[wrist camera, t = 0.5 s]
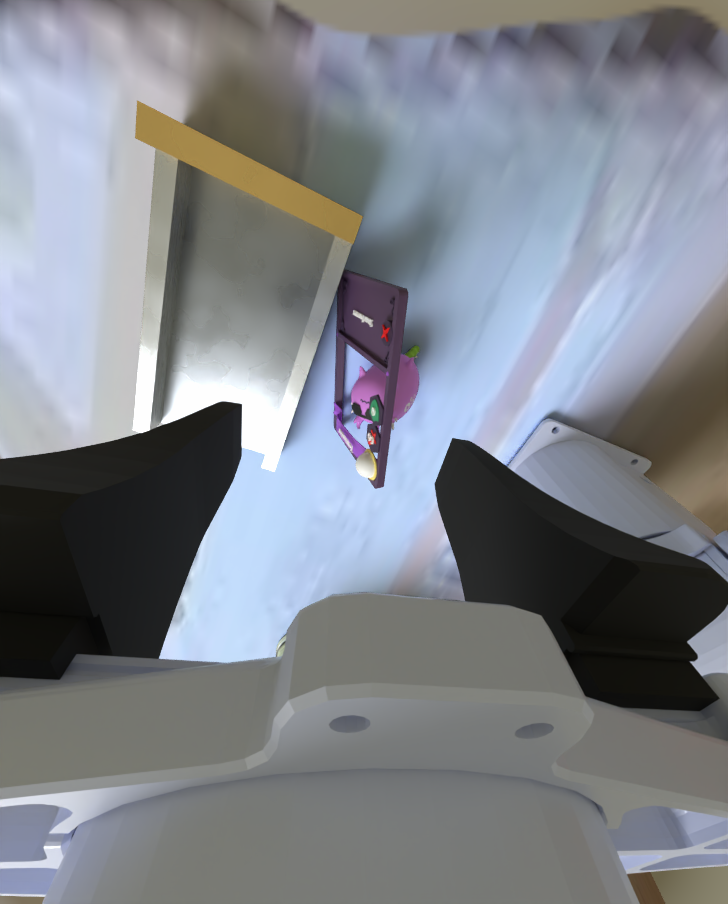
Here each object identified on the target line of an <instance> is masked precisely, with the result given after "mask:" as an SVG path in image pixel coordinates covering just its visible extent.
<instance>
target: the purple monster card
mask: <svg viewBox="0 0 728 904" xmlns="http://www.w3.org/2000/svg"><path fill="white" fill-rule="evenodd" d="M407 302H408V291H407V289H405V288H402V287H399V286H396V285H393V284H389V283H386V282H383V281H380V280H377V279H373V278H370V277H367V276H364V275H361V274H357V273H354V272H351V271H348V270H343V273H342V276H341V279H340V282H339V285H338V292H337V329H336V366H335V402H334V412H333V413H334V428H335V430H336V432H337V433H338V434H339V436H340V437H341V439H342V440H343V442H344V443H345V445H346V446H347V448H348V449H349V451H350V452H351V454H352V455H353V457H354V458H355V460H356V469H357V471H358V473H359V474H360V475H361V476H363V477H366V478H368V479H369V480H370V482H371V483H372V485H373V486H374V488H375V489H376V488H381V487H383V486H384V480H385V473H386V465H387V457H388V449H389V442H390V434H391V428H392V430H393V429H394V422H395V421H396V422H397V420H398V419H400V418H401V417H403V416H404V415H405V414H406V413H407V412H408V410H409V409H410V407H411V406H412V404H413V402H414V400H415V398H416V395H417V392H418V387H419V373H418V369H417V367H416V365H415V363H414V357H415V359H416V358H418V357H417V356H416V355H417V353H419V352H420V351H419V350H420V348H419V347H418V346H414V347H413V348H411V349H410V350H409V351H408V352H407V353H406V354H405V355H403V354H401V348H402V341H403V333H404V325H405V317H406V310H407ZM345 342H346V343H347V344H348V345H350V346H351V347H352V348H353V349H355V350H356V351H357V352H358V353H360V354H361V355H362V356H363V357H365V358H366V359H367V360H368V361H370V362H371V363H372V364H374V365H373V366H372V367H371V368H370V369H369V370H368V371H367V372H365V370H364V369H363V367H360V375H359V378H358V380H357V381H356V383H355V384H354V386H353V389H352V392H351V400H352V402H351V405H352V404H353V405H352V409H353V410H352V412H351V413H353V412H354V414H356V415H357V417H356V418H355V420H354V423H356V422H357V428H358V429H360V425H361V423H362V422H363V421H364V420H365V421H367V422H369V423H372V424H368V427H367V441H368V444H369V447H370V449H366V448H364V447H363V446H362V445H361V444H360V443H359V442H357V441H356V440H355V439H354V438H353V436H352V435H351V434H350V433H349V432H348V430H347V429H346V428H345V427H344V425H343V424H342V398H343V374H344V349H345ZM380 425H381V431H380V432H379V426H380ZM373 452H376V453H378V458H377V459H376V458H375V456H374V454H373Z"/></svg>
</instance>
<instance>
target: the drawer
mask: <svg viewBox="0 0 728 904" xmlns="http://www.w3.org/2000/svg"><path fill="white" fill-rule="evenodd" d="M135 138H136V139H138V140H140V141H142V142H144V143H146V144H148V145H150V146H152V147H154V148H156V151H155V163H154V176H153V189H152V201H151V214H150V226H149V239H148V252H147V264H146V277H145V290H144V302H143V315H142V327H141V340H140V353H139V365H138V378H137V391H136V403H135V416H134V428H133V430H135V431H138V432H145V431H148V430H151V429H154V428H156V427H157V426H158V425H159V424H160V423H165V424H167V423H170V422H172V421H175V420H178V419H180V418H182V417H185V416H187V415H189V414H192V413H194V412H196V411H199V410H201V409H203V408H205V407H208V406H210V405H212V404H215V403H217V402H220V401H228V402H234V403H240V404H242V447H244V448H247V449H250V450H253V451H257V452H260V453H263V454H266V455H265V458H264V461H263V464H262V467H261V468H264V469H268V470H271V471H275V468H276V465H277V462H278V459H279V456H280V454H281V451H282V448H283V445H284V442H285V439H286V436H287V433H288V430H289V427H290V424H291V422H292V419H293V416H294V413H295V410H296V407H297V404H298V401H299V398H300V395H301V392H302V390H303V387H304V384H305V381H306V378H307V375H308V372H309V369H310V366H311V363H312V360H313V357H314V355H315V352H316V349H317V346H318V343H319V340H320V337H321V334H322V331H323V328H324V325H325V323H326V320H327V317H328V314H329V311H330V308H331V305H332V302H333V299H334V296H335V293H336V291H337V288H338V285H339V282H340V279H341V276H342V273H343V270H344V267H345V264H346V261H347V259H348V256H349V253H350V250H351V247H352V244H354V241H355V238H356V235H357V233H358V230H359V227H360V224H361V221H362V218H363V216H361V215H359V214H358V213H356V212H354V211H352V210H350V209H348V208H346V207H344V206H342V205H340V204H338V203H336V202H334V201H332V200H330V199H328V198H326V197H324V196H322V195H320V194H319V193H317V192H315V191H313V190H311V189H309V188H307V187H305V186H303V185H301V184H299V183H297V182H295V181H293V180H291V179H289V178H287V177H285V176H283V175H282V174H280V173H278V172H276V171H274V170H272V169H270V168H268V167H266V166H264V165H262V164H260V163H258V162H256V161H254V160H252V159H250V158H248V157H246V156H244V155H243V154H241V153H239V152H237V151H235V150H233V149H231V148H229V147H227V146H225V145H223V144H221V143H219V142H217V141H215V140H213V139H211V138H209V137H207V136H206V135H204V134H202V133H200V132H198V131H196V130H194V129H192V128H190V127H188V126H186V125H184V124H182V123H180V122H178V121H176V120H174V119H172V118H170V117H168V116H167V115H165V114H163V113H161V112H159V111H157V110H155V109H153V108H151V107H149V106H147V105H145V104H143V103H141V102H139V101H137V115H136V133H135Z"/></svg>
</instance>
